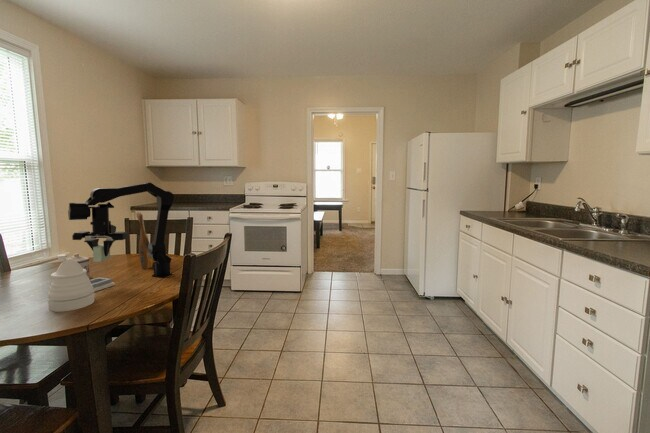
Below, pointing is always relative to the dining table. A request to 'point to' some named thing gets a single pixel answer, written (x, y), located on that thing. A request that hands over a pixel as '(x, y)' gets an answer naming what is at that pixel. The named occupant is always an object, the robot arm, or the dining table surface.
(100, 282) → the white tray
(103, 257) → the pale green block
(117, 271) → the dining table surface
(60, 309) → the honey pot
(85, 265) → the teacup with lid
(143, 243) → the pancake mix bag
